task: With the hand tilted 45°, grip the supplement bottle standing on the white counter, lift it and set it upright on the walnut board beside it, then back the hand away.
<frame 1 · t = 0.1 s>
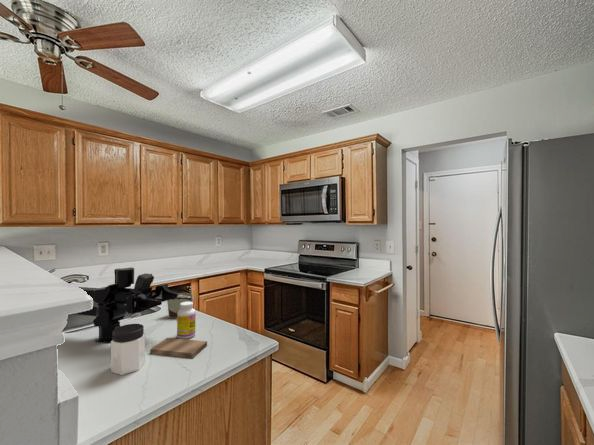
hand: (169, 299, 99), 17 cm above the counter, tool horizontal, fingers open, 9 cm apart
supplement bottle: (186, 336, 107), on the counter
food container: (181, 316, 129), on the counter
jar: (128, 367, 84), on the counter
walnut board: (179, 349, 96), on the counter
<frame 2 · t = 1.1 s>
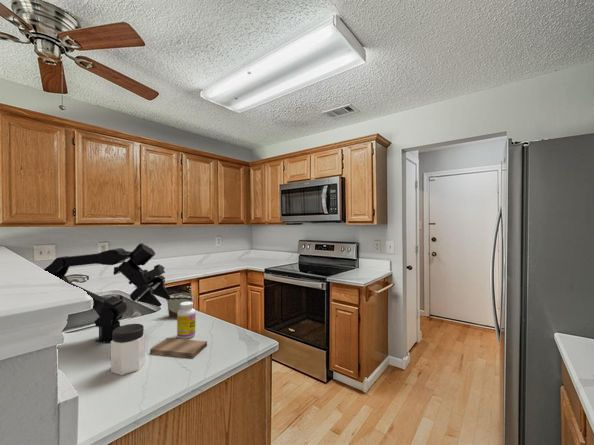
hand: (165, 302, 106), 14 cm above the counter, tool tilted 45°, fingers open, 9 cm apart
nothing on the counter moved.
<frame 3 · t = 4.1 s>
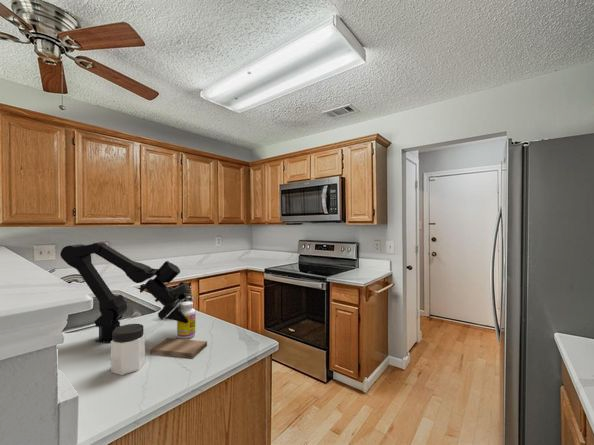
hand: (190, 319, 107), 7 cm above the counter, tool tilted 45°, fingers closed on supplement bottle, 7 cm apart
supplement bottle: (186, 336, 107), on the counter, touching gripper
everything else where it was.
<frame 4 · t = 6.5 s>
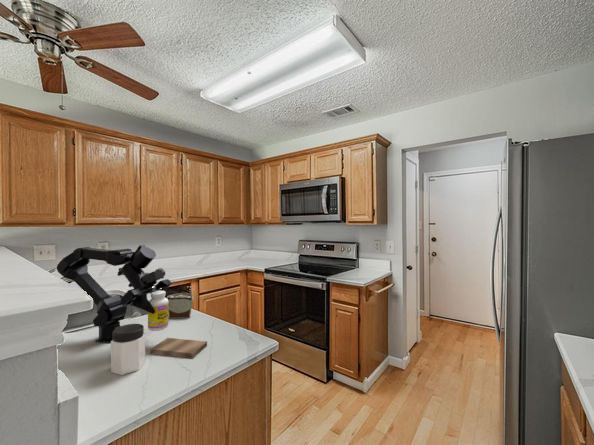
hand: (161, 309, 98), 13 cm above the counter, tool tilted 45°, fingers closed on supplement bottle, 7 cm apart
supplement bottle: (158, 328, 99), point 6 cm above the counter, touching gripper
everything else where it was.
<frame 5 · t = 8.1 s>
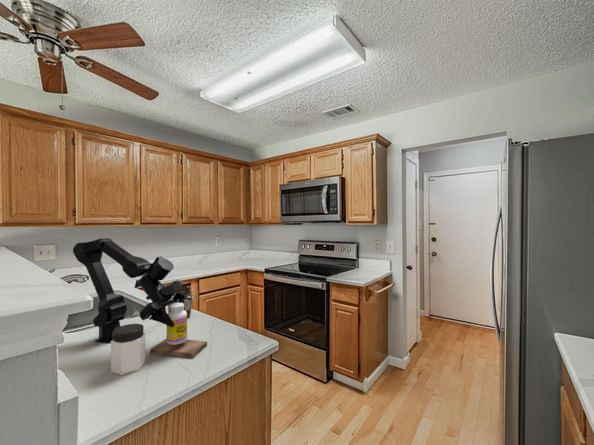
hand: (180, 322, 96), 9 cm above the counter, tool tilted 45°, fingers closed on supplement bottle, 7 cm apart
supplement bottle: (177, 341, 97), point 3 cm above the counter, touching gripper
everything else where it was.
when the fingers open (9 cm above the counter, at t = 9.3 s): supplement bottle stays where it is, resting on walnut board.
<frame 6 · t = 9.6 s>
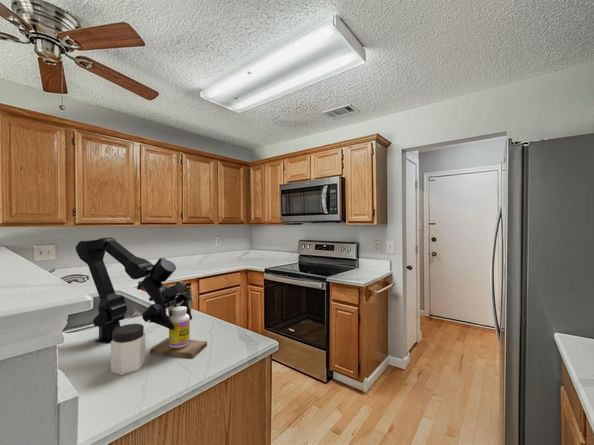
hand: (183, 324, 96), 9 cm above the counter, tool tilted 45°, fingers open, 9 cm apart
supplement bottle: (179, 345, 96), point 1 cm above the counter, touching walnut board
everything else where it was.
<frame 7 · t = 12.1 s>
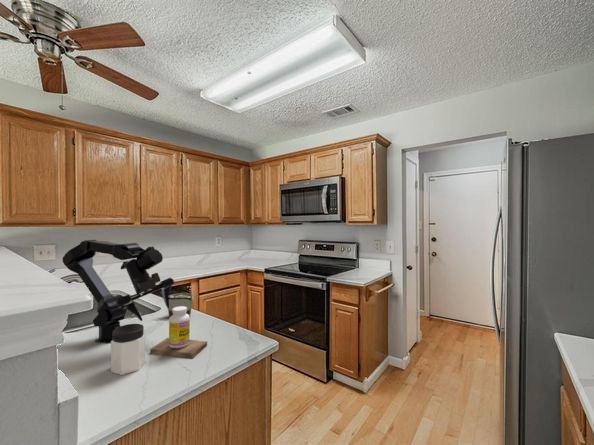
hand: (155, 314, 99), 11 cm above the counter, tool tilted 30°, fingers open, 9 cm apart
nothing on the counter moved.
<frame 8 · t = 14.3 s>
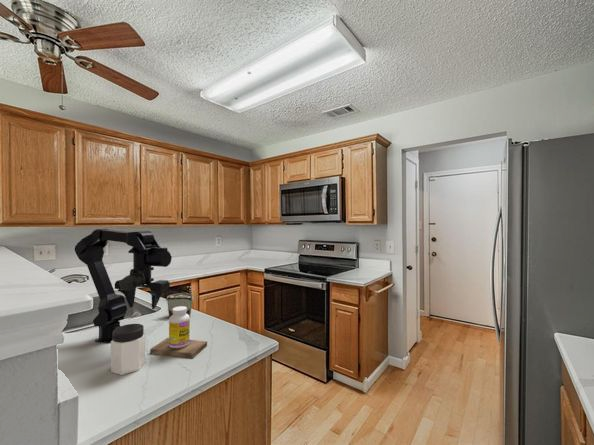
hand: (142, 308, 100), 13 cm above the counter, tool pointing down, fingers open, 9 cm apart
nothing on the counter moved.
at the end: supplement bottle inside the target area on the walnut board (0.3 cm from its centre), point 1.3 cm above the walnut board's base; supplement bottle tilted 0°; the gripper is holding nothing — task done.
